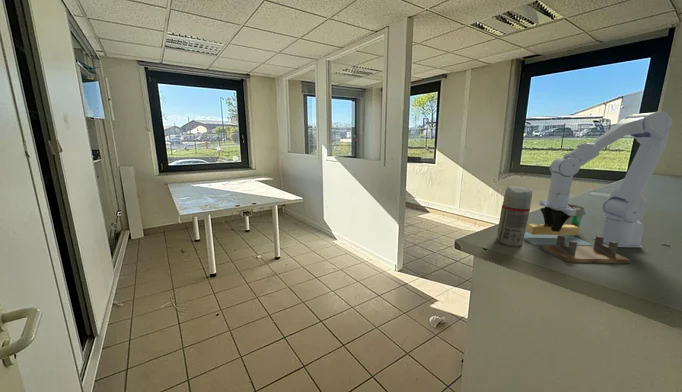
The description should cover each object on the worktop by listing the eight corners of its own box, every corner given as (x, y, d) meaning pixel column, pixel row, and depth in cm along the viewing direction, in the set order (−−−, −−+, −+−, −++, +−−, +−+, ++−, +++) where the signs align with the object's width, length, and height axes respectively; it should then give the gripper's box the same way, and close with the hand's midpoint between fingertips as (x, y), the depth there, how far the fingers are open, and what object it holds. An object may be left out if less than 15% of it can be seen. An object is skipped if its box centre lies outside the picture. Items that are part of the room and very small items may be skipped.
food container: (589, 236, 101) (595, 211, 98) (570, 235, 102) (576, 210, 100) (569, 226, 112) (573, 203, 110) (552, 225, 114) (557, 202, 111)
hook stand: (598, 249, 89) (601, 233, 87) (629, 263, 79) (633, 245, 78) (543, 248, 89) (545, 232, 88) (567, 262, 79) (570, 244, 78)
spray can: (526, 242, 94) (535, 186, 90) (521, 249, 88) (531, 189, 84) (499, 236, 100) (506, 183, 96) (493, 242, 94) (500, 186, 90)
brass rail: (570, 232, 98) (572, 224, 98) (577, 235, 95) (579, 227, 95) (526, 231, 99) (527, 223, 98) (532, 234, 96) (533, 226, 95)
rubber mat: (565, 233, 103) (565, 232, 103) (593, 246, 92) (593, 245, 91) (512, 233, 104) (513, 232, 104) (533, 245, 92) (534, 243, 92)
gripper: (533, 188, 101) (527, 222, 104) (563, 196, 87) (556, 236, 90) (552, 188, 101) (546, 223, 104) (585, 197, 87) (577, 236, 90)
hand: (552, 229), depth 97 cm, fingers closed on brass rail, 3 cm apart
